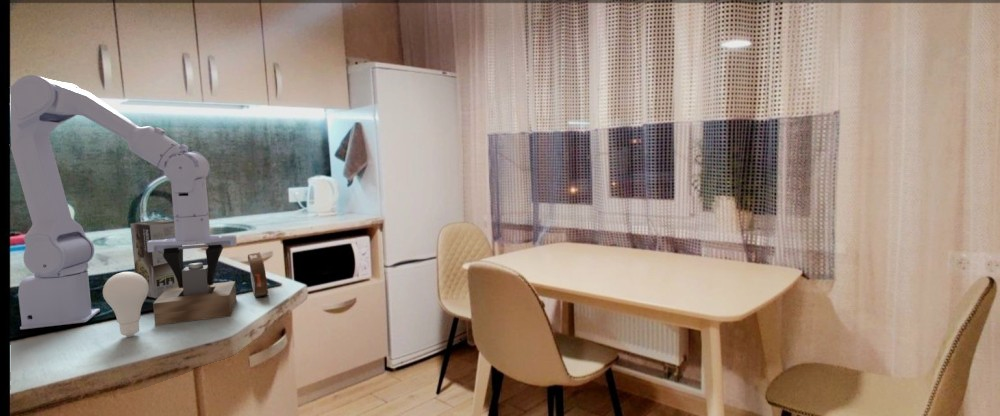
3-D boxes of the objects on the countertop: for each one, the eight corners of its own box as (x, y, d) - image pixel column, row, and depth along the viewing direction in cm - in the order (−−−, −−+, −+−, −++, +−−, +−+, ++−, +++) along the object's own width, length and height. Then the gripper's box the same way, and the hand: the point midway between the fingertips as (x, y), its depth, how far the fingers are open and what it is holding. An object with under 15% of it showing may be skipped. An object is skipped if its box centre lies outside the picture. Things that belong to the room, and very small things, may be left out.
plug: (184, 304, 95) (181, 266, 95) (188, 299, 99) (185, 263, 98) (208, 302, 97) (205, 264, 96) (211, 297, 101) (208, 261, 100)
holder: (154, 325, 90) (153, 303, 90) (169, 307, 101) (167, 287, 101) (230, 316, 95) (229, 295, 94) (236, 299, 106) (235, 281, 105)
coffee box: (187, 292, 113) (181, 220, 111) (155, 299, 107) (149, 224, 106) (167, 287, 118) (161, 218, 116) (135, 294, 112) (129, 222, 111)
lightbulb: (111, 334, 86) (104, 270, 85) (154, 328, 89) (148, 266, 88) (104, 345, 80) (97, 278, 79) (150, 338, 83) (144, 273, 82)
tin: (269, 299, 106) (266, 260, 105) (252, 301, 105) (250, 261, 104) (263, 284, 119) (261, 249, 118) (248, 286, 118) (246, 250, 117)
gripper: (140, 220, 90) (146, 294, 91) (232, 215, 95) (237, 285, 97) (150, 216, 96) (156, 285, 97) (235, 211, 102) (240, 277, 103)
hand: (196, 285), depth 97 cm, fingers open, 4 cm apart
